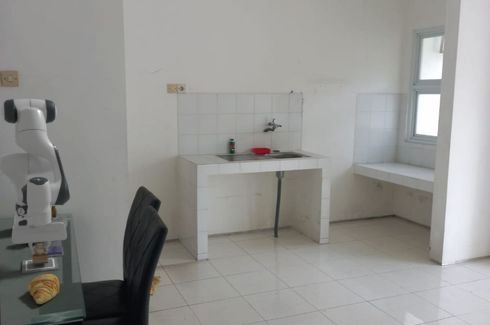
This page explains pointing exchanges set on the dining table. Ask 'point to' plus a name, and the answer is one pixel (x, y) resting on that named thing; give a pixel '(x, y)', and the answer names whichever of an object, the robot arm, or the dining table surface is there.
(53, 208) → the hand bell
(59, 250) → the ink pad
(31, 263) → the board
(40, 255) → the stamp
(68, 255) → the dining table surface
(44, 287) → the croissant
